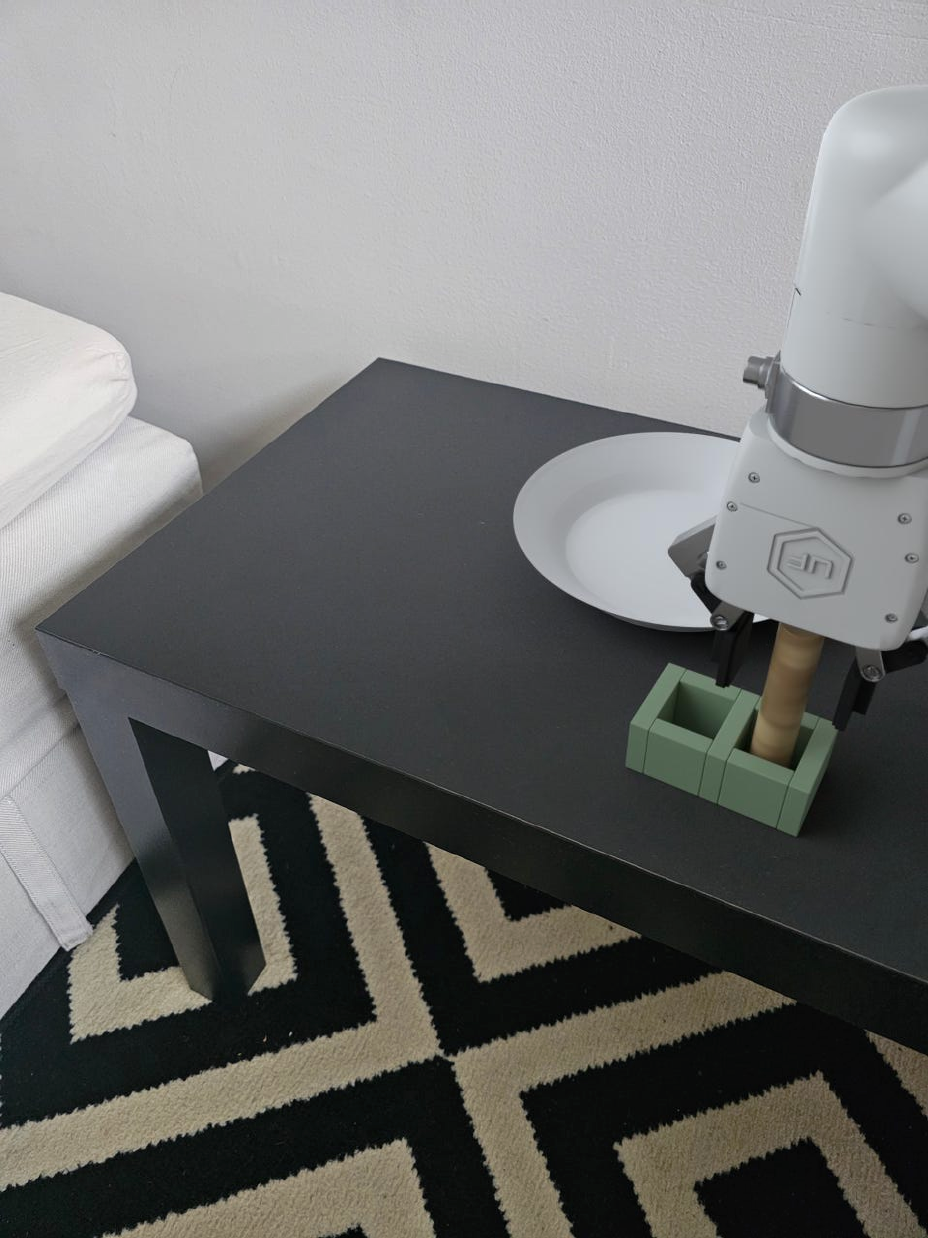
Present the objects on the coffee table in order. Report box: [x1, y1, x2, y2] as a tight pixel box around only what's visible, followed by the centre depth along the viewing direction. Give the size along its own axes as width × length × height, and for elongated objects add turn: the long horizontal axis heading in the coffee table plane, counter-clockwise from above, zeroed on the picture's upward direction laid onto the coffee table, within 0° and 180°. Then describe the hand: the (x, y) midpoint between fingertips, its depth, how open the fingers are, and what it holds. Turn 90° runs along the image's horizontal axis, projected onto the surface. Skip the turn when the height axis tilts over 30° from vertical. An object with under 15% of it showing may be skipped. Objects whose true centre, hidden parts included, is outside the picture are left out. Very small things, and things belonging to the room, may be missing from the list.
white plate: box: [512, 431, 771, 633], centre depth 77 cm, size 25×25×4 cm
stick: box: [749, 621, 826, 769], centre depth 57 cm, size 2×2×13 cm
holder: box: [625, 662, 839, 838], centre depth 61 cm, size 11×6×4 cm, turn 59°
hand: (786, 690), depth 56 cm, fingers open, 5 cm apart
